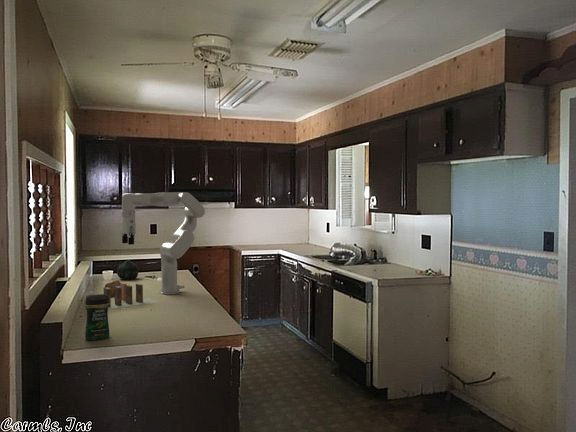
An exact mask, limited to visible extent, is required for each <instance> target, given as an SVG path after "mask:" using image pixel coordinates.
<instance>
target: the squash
mask: <svg viewBox="0 0 576 432" xmlns="http://www.w3.org/2000/svg"><path fill="white" fill-rule="evenodd" d="M116 274H117V277H118V278H119V279H121V280H127V281H132V280H135V279H137V277H138V276H139V267H138V265H137V264H136V263H135V262H134V261H132V260H130V259H128V260H125V261H123V262H122V263H120V264H119V265H118V267H117V269H116Z"/></svg>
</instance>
